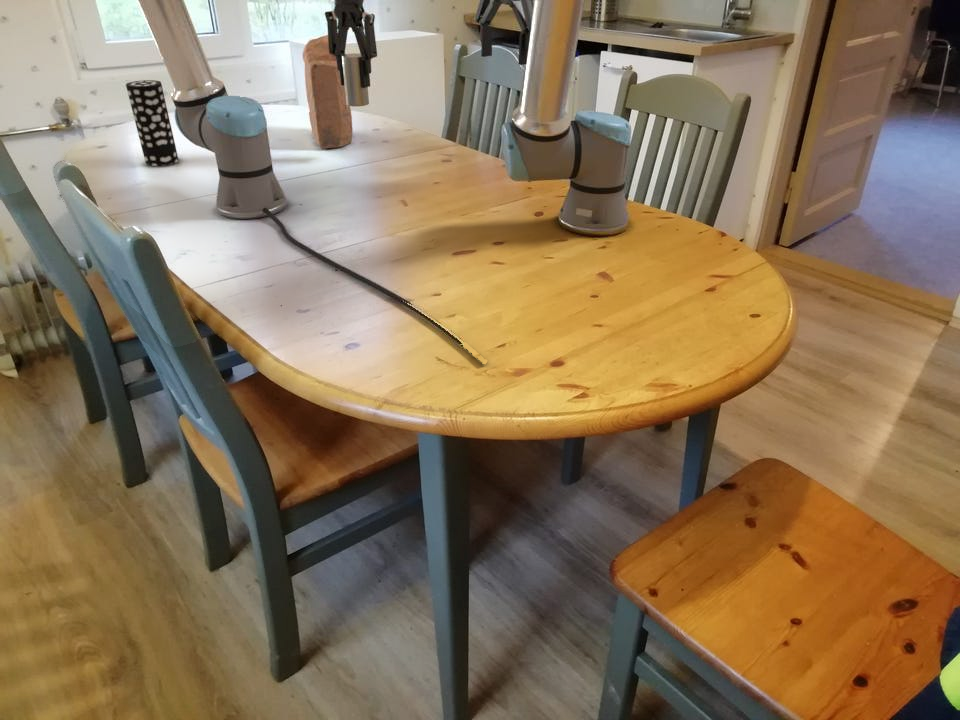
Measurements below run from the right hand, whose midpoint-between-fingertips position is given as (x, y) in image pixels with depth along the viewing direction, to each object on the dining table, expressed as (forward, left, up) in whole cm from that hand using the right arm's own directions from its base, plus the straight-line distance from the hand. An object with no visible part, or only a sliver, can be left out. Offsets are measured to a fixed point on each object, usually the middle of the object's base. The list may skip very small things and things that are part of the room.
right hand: (504, 60), depth 165 cm
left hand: (+22, -34, -8) cm, 41 cm away
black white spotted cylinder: (+66, -65, -18) cm, 94 cm away
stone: (+18, -57, -28) cm, 66 cm away
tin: (+22, -34, -13) cm, 42 cm away
